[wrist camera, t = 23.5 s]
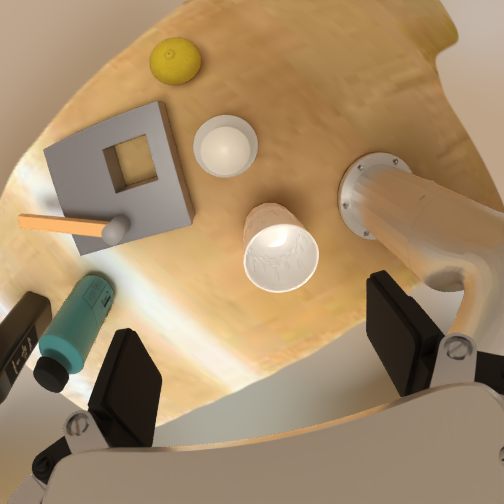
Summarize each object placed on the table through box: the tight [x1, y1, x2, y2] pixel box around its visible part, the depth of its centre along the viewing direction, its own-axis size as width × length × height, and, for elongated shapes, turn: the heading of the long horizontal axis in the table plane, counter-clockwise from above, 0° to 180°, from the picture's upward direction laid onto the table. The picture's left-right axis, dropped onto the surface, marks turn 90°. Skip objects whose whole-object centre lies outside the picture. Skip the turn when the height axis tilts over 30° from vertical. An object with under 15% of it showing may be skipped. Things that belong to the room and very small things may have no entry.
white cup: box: [243, 203, 319, 292], centre depth 35 cm, size 8×8×10 cm
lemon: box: [150, 38, 201, 85], centre depth 26 cm, size 6×6×8 cm
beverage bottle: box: [33, 275, 114, 393], centre depth 32 cm, size 6×7×20 cm
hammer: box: [18, 214, 130, 245], centre depth 31 cm, size 16×2×4 cm, turn 81°
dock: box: [43, 101, 195, 256], centre depth 33 cm, size 16×15×4 cm
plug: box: [193, 115, 258, 177], centre depth 30 cm, size 7×7×10 cm
